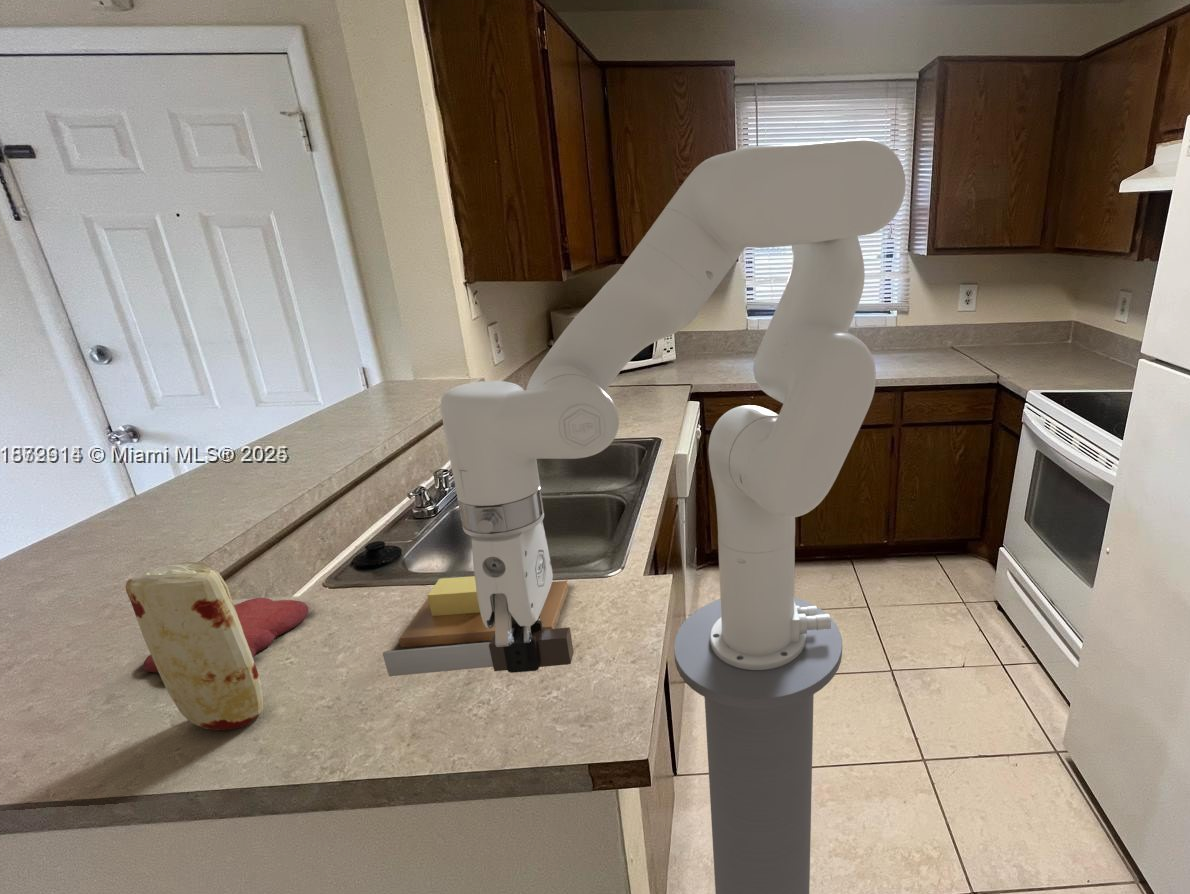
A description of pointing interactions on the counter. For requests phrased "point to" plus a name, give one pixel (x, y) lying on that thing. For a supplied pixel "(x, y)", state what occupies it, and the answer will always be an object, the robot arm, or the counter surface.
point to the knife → (478, 655)
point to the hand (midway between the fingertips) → (527, 660)
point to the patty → (261, 622)
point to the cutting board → (472, 623)
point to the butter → (454, 596)
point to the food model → (198, 644)
